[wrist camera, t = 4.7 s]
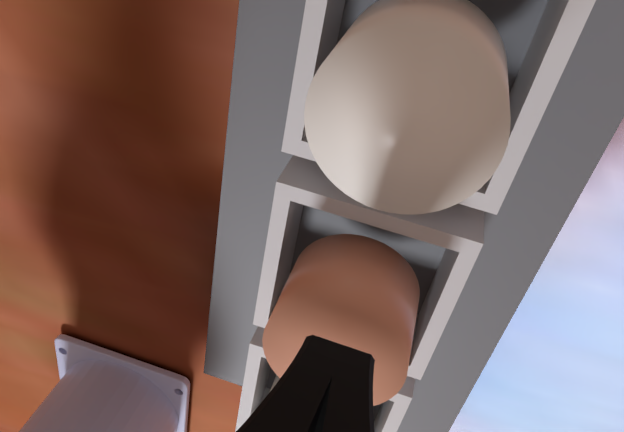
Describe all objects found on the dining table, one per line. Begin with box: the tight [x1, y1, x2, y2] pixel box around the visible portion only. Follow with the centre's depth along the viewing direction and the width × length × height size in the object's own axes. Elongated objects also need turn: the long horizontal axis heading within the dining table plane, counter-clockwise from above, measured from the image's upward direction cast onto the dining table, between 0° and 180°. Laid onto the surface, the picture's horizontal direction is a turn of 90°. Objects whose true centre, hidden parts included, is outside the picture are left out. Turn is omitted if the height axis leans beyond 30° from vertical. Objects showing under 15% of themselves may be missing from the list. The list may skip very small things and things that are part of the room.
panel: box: [204, 0, 624, 432], centre depth 19 cm, size 20×11×5 cm, turn 170°
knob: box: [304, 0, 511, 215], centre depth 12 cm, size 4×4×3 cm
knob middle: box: [262, 234, 420, 406], centre depth 16 cm, size 4×4×3 cm
